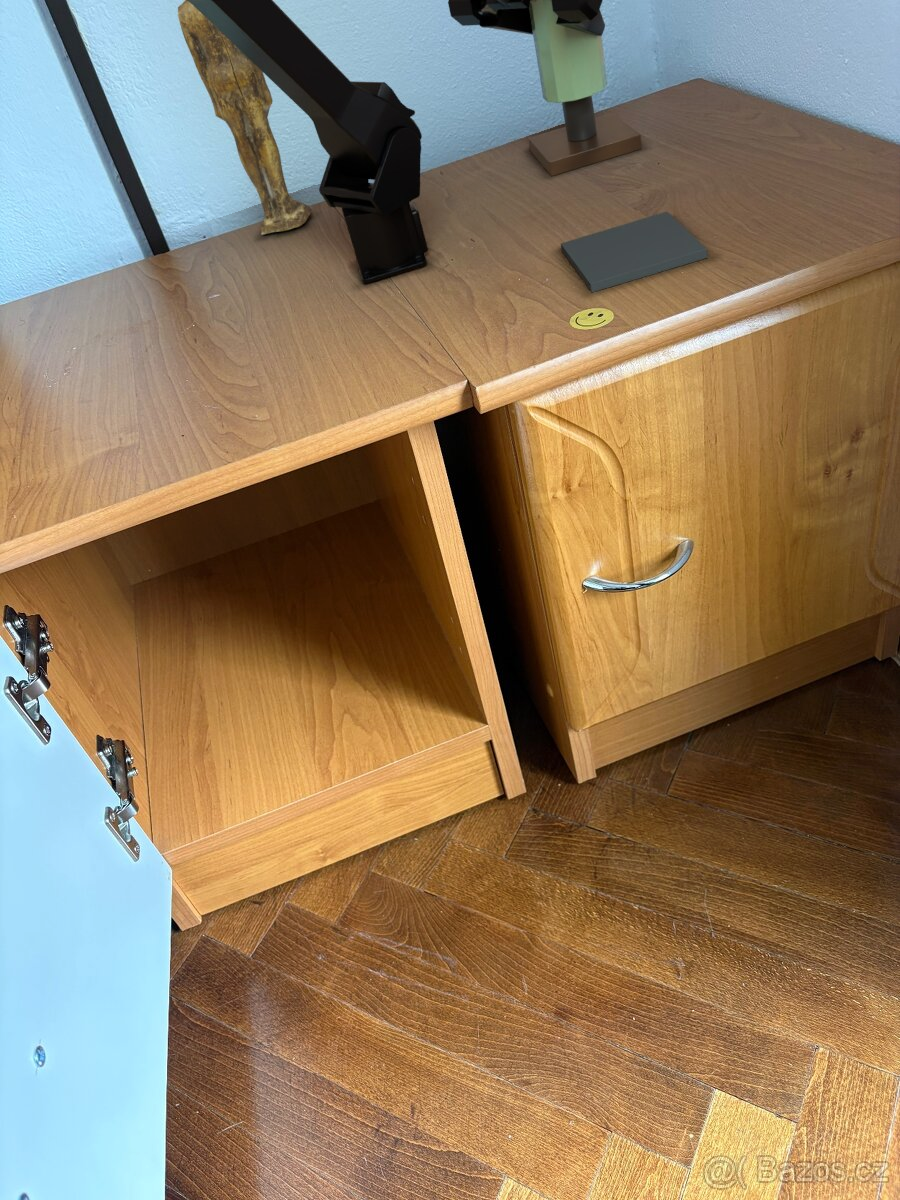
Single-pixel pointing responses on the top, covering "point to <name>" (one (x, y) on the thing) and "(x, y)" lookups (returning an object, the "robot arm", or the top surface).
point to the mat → (632, 251)
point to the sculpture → (243, 115)
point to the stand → (583, 139)
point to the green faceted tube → (565, 57)
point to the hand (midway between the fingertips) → (576, 31)
